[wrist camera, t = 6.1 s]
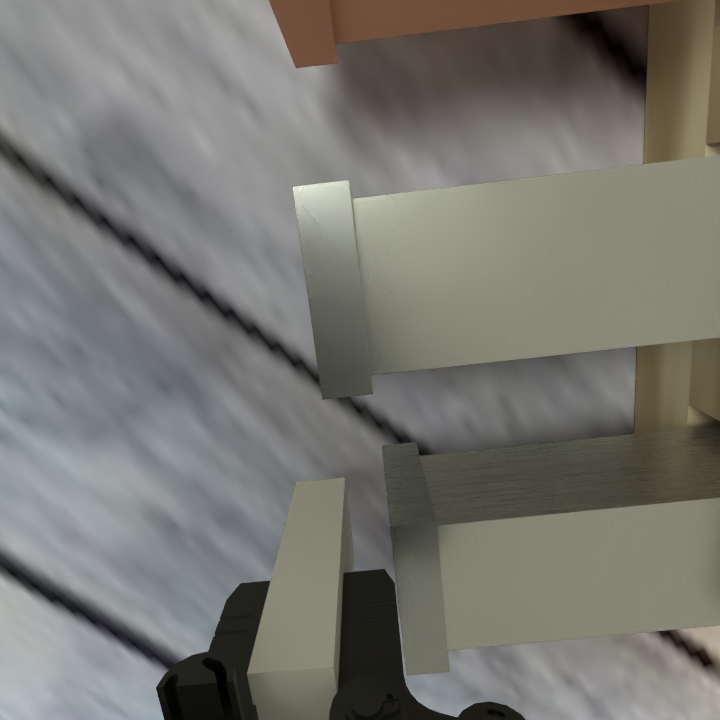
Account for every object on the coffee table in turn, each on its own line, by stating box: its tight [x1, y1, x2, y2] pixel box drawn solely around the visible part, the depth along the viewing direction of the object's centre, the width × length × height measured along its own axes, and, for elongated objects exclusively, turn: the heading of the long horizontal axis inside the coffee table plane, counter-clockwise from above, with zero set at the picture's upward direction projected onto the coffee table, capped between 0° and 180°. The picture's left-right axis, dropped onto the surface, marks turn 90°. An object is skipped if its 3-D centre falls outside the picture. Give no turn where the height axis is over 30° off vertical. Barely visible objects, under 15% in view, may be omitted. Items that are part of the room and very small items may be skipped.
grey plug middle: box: [293, 155, 720, 400], centre depth 11 cm, size 17×4×4 cm, turn 96°
